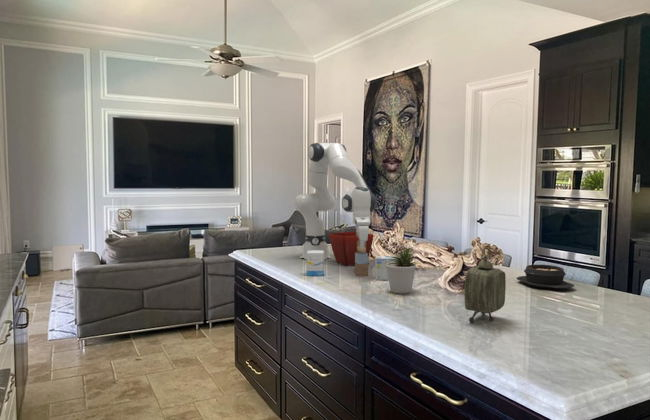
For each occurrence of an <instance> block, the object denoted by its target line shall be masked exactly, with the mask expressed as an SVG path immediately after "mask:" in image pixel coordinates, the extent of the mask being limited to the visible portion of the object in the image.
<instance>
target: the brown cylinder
mask: <svg viewBox="0 0 650 420" xmlns="http://www.w3.org/2000/svg"><path fill="white" fill-rule="evenodd" d="M357 251H358V252H366V241H365V243H364V249H361V248H360V241H357Z"/></svg>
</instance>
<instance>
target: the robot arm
mask: <svg viewBox="0 0 650 420" xmlns="http://www.w3.org/2000/svg"><path fill="white" fill-rule="evenodd" d="M307 151H308V152H307V154H308V155H307V156H308V158H309V160H310V162H309V169H308V179H307V183H308V184H309V185H310V186H311V187H312V188H313V189H314V191H315V192H314V193H307V192H306V193H302V194H301V193H300V194H298V195H297V196H296V197H295V198H294V207H295V209H296V210H297V211H298V212H299V213H300V214H301V215H302V217H303V218H304V222H305V237H304V239H305V242H304V243H303V244H302V255H300V256H299V259H301V258H304V259H303V260H307V251H311V250H322V251H324V260H327V258H329V259H332V255H330V254H329V245H328V243H327V242H326V239H327V238H326V233H325V227H326V226H325V221H324V220H323V219H322V218H320V217H318V215H317V212H327V211H330V210H333V209H334V208H335V206H336V197H335V196H334V195H333V194H332V193H331V192H330V190H329V187H328V178H329V176H328V175H329V168H330V171H331V173H332V174H333V175H334V176H335V177H336V178H339V179H343V180H347V181H348V182H350V183H352V184H353V185H355V187H354V188H353V190H352V191H351V192H349V193H346V194H345V195H343V197H342V198H341V208H342V209H343V210H344V211H345V212H346V213H347V212H348V213H352V224H353V225H354V227H355V228H356V230H355V232H356V235H357V237H358V239H359V241H360V248H361V249H364V243H365V241H367V238H368V234H369V226H370V225H371V223H372V222H371V215H372V214H371V213H372V212H373V211H374V210H375V209H376V208H377V205H378V202H377V201H378V200H377V197H376V196H375V194H374V193H373V192H372V190H371V189H370V187H369V185H368V184H367V182H366V179H365V178H364V176H363V175H362V173H361V171H360V170H359V169H358V168H356V167H355V165H354V164H353V163H352V161H350V158H349V155H348V152H347V149H346V146H345V144H342V143H340V142H339V143H338V142H314V143H311V144H310V145H309V147H308V150H307Z"/></svg>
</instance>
